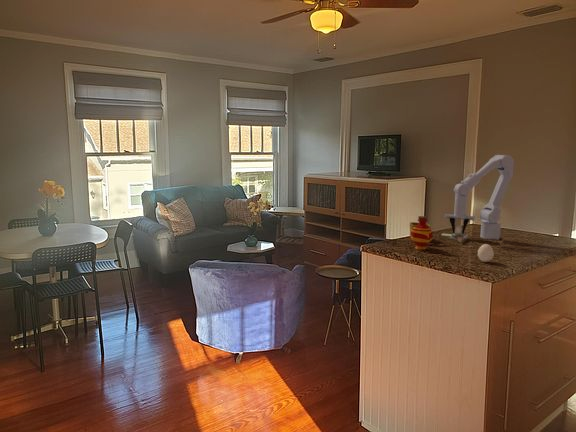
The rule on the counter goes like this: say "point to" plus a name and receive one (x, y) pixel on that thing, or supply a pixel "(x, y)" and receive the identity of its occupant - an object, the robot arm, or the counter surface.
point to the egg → (485, 253)
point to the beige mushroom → (458, 231)
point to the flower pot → (413, 224)
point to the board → (456, 237)
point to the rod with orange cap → (462, 237)
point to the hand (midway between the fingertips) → (458, 233)
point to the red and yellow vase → (421, 233)
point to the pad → (446, 234)
